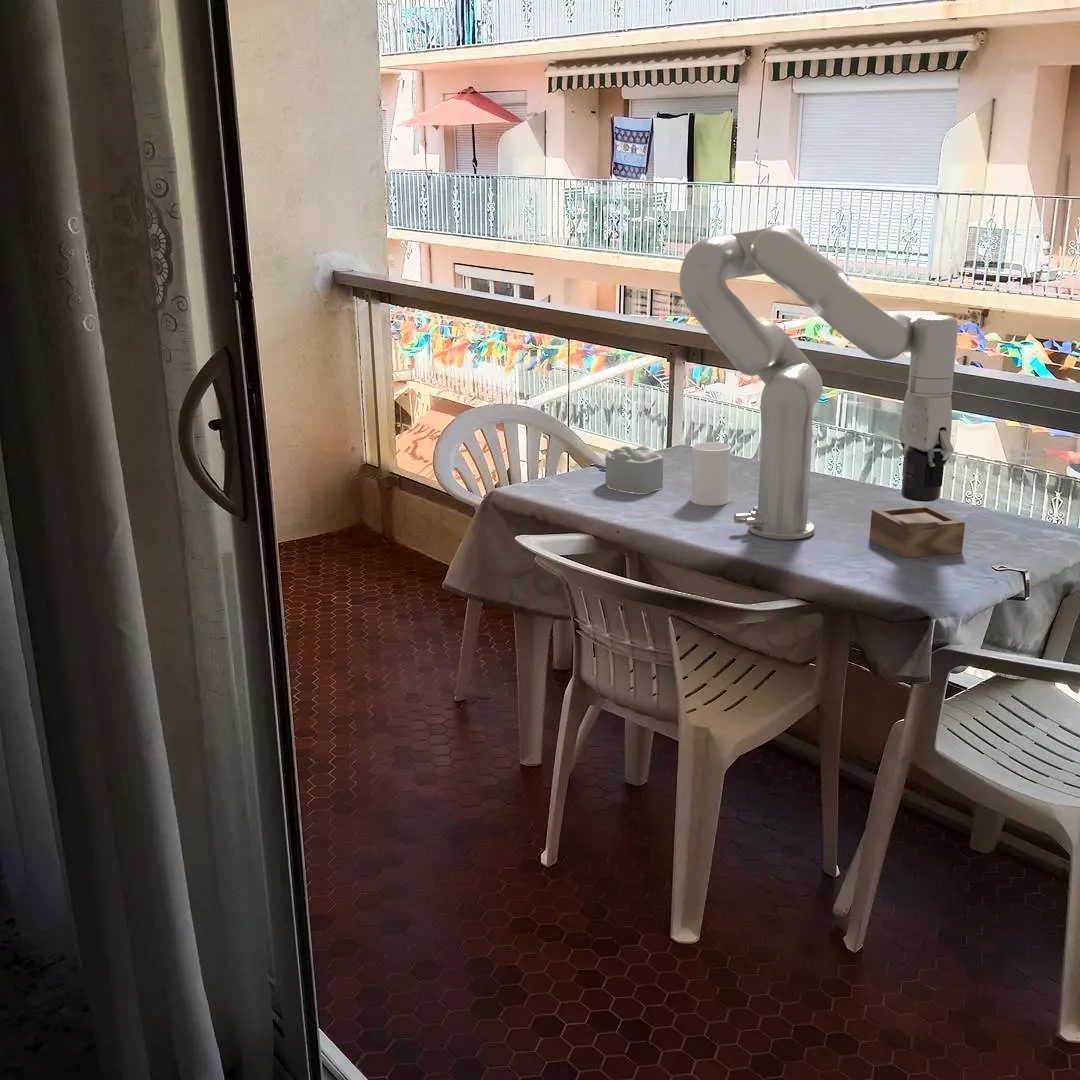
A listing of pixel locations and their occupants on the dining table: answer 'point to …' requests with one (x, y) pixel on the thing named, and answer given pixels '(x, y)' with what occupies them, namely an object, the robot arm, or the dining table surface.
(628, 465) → the lumpy-topped squat cylinder
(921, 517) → the display plinth
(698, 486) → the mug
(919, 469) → the supplement bottle
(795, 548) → the dining table surface
